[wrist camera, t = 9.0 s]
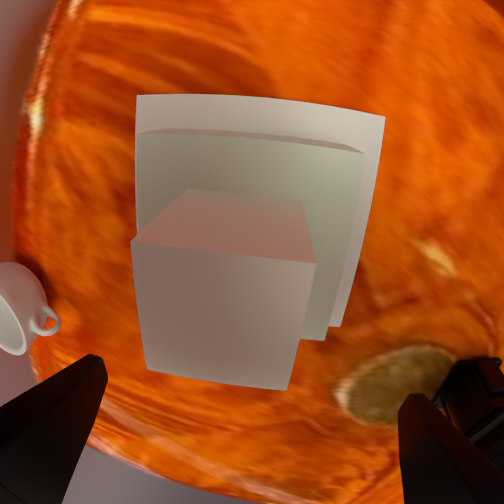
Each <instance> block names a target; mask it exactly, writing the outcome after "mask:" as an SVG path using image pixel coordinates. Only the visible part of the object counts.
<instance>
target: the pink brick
mask: <svg viewBox="0 0 504 504" xmlns="http://www.w3.org/2000/svg"><path fill="white" fill-rule="evenodd" d="M130 242H131V255H132V266H133V276H134V286H135V294H136V302H137V310H138V317H139V324H140V331H141V337H142V344H143V349H144V355H145V361H146V366H147V369H148V370H152V371H157V372H162V373H166V374H171V375H176V376H182V377H187V378H193V379H198V380H204V381H210V382H217V383H224V384H231V385H238V386H246V387H254V388H263V389H273V390H284V391H287V388H288V384H289V380H290V376H291V372H292V368H293V365H294V361H295V357H296V353H297V349H298V344H299V340H300V336H301V332H302V328H303V323H304V319H305V315H306V310H307V306H308V301H309V297H310V292H311V287H312V282H313V278H314V273H315V268H316V259H315V255H314V250H313V246H312V241H311V237H310V232H309V228H308V224H307V219H306V215H305V211H304V207H303V203H302V200H296V199H288V198H279V197H271V196H262V195H253V194H244V193H234V192H224V191H213V190H202V189H190V188H188V189H187V190H186V191H185V192H184V193H183V194H181V195H180V196H179V197H178V198H177V199H176V200H175V201H173V202H172V203H171V204H170V205H169V206H168V207H167V208H166V209H165V210H163V211H162V212H161V213H160V214H159V215H158V216H157V217H156V218H155V219H154V220H153V221H151V222H150V223H149V224H148V225H147V226H146V227H145V228H144V229H143V230H142V231H141V232H140V233H139V234H138V235H137V236H136V237H134V238H133V239H132V240H131V241H130Z"/></svg>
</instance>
